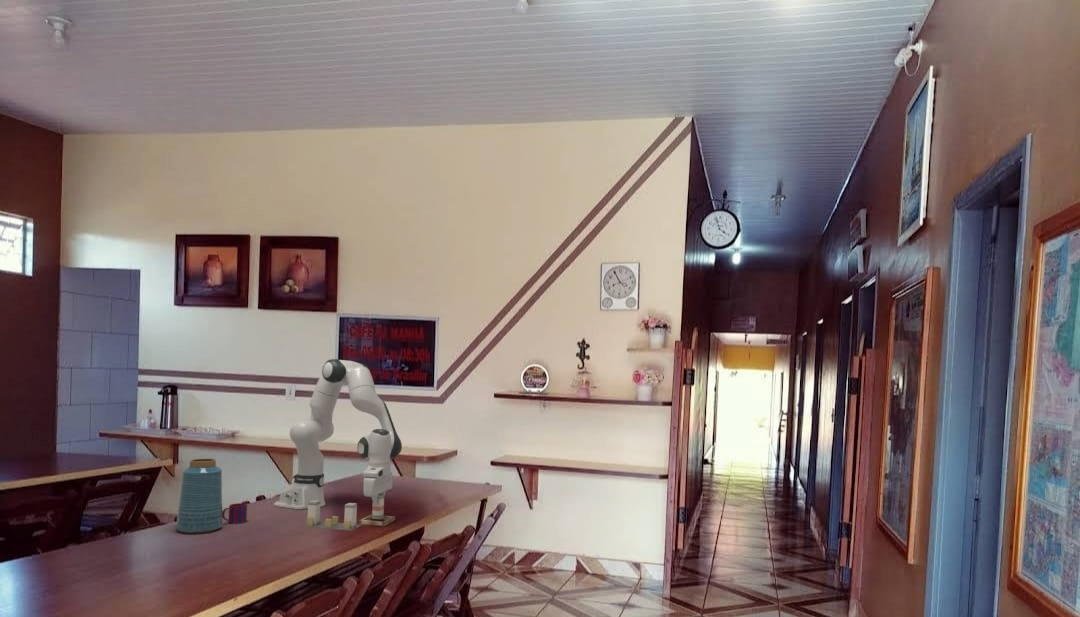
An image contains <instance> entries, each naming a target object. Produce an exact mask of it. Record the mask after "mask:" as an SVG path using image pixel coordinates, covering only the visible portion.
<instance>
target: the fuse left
mask: <svg viewBox="0 0 1080 617" xmlns="http://www.w3.org/2000/svg"><path fill="white" fill-rule="evenodd" d="M308 517H309V518H313V525H317V524H319V522H320V521H321V507H320V501H318V500H312V501H309V502H308V508H307V518H308Z"/></svg>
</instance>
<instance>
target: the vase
mask: <svg viewBox="0 0 1080 617" xmlns="http://www.w3.org/2000/svg"><path fill="white" fill-rule="evenodd" d="M222 473H223V470H222V468H221V467H219V466H217V461H216V459H215V458H212V457H211V458H207V457H206V458H192V459H190V461H189V466H188V467H186V468H184V469H183V470H182V478H181V486H180V493H179V502H178V507H177V508H178V509H177V518H176V525H175V528H176V530H177V531H178V532H180V533H182V534H189V535H190V534H191V535H192V534H193V535H195V534H196V535H197V534H205V533H211V532H215V531H217V530H219V529H220V528H221V527H222V526H223V516H222V513H223V478H222V477H223V476H222Z"/></svg>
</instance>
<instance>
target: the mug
mask: <svg viewBox="0 0 1080 617" xmlns="http://www.w3.org/2000/svg"><path fill="white" fill-rule="evenodd" d="M227 510H228V519H227V517H225V512H226V511H227ZM247 510H248V504H247V503H243V502H241V503H239V502H238V503H231V504H229V506H228V507H225V508H224V509H222V520H223V519H224V520H225V522H226V521H227V522H228V523H229V524H233V525H237V524H238V525H239V524H244V523H247V518H248V517H247V516H248V514H247V513H248V511H247Z"/></svg>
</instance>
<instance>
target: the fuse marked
mask: <svg viewBox="0 0 1080 617" xmlns="http://www.w3.org/2000/svg"><path fill="white" fill-rule="evenodd" d="M377 500H378V505H373V504H372V507H371V508H372V512H371V515H372V518H375V520H382V519H381V518H383V516H384V511H385V510H384V508H385V496H384V495H380V494H378V497H377Z"/></svg>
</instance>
